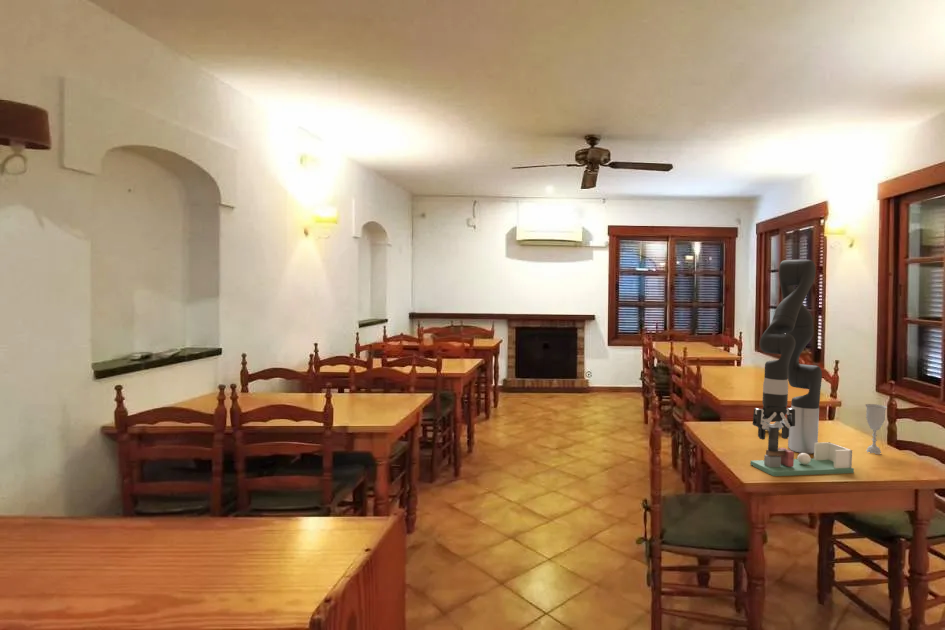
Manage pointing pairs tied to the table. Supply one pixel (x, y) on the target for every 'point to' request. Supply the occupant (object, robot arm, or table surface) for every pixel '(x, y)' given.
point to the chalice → (875, 423)
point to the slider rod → (773, 450)
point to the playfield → (797, 467)
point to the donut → (776, 424)
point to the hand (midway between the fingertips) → (773, 438)
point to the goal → (833, 454)
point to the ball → (804, 458)
